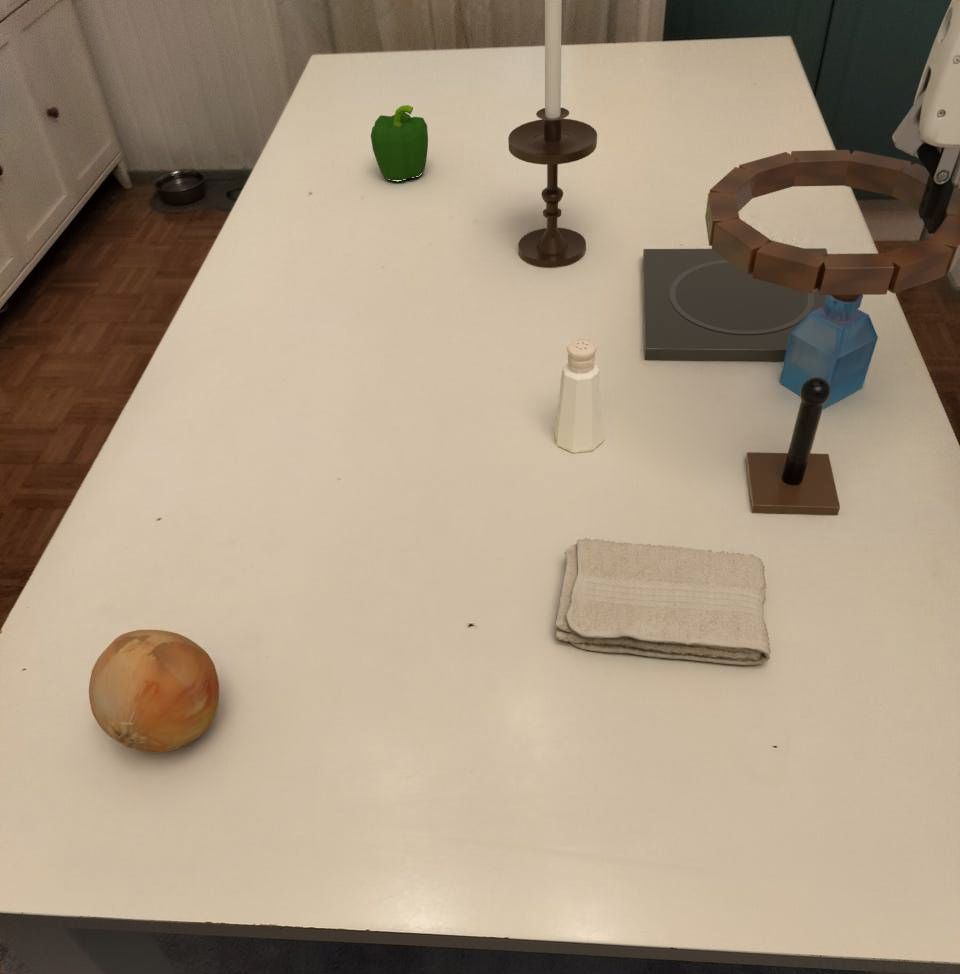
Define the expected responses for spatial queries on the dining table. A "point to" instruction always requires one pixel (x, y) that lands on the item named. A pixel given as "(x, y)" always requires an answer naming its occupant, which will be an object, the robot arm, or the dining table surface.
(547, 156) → the candlestick
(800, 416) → the post
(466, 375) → the dining table surface
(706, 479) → the dining table surface
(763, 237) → the ring
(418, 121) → the bell pepper
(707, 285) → the hob
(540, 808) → the dining table surface
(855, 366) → the perfume bottle
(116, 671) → the onion
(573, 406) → the pepper shaker
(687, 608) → the washcloth
